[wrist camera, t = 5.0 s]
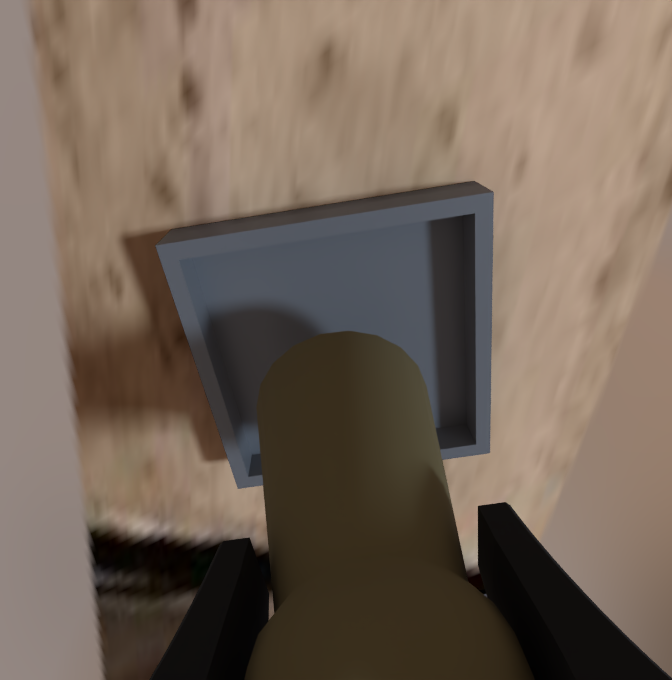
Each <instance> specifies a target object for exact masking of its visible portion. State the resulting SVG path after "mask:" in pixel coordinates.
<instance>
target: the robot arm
mask: <svg viewBox="0 0 672 680" xmlns="http://www.w3.org/2000/svg"><path fill="white" fill-rule="evenodd" d="M478 566H479V570H480V573H481V577H482V580H483V584H484V588H485V591H486V594H484V595H485V596H486V597H487V598H488V599H490V600H491V601H492V602H493V603H494V604H495V605H496V607H497V608H498V609H499V611H500V612H501V614H502V615H503V616H504V618H505V619H506V621H507V622H508V624H509V625H510V626H511V628H512V629H513V631H514V632H515V634H516V636H517V639H518V641H519V643H520V645H521V648H522V650H523V652H524V655H525V657H526V659H527V662H528V664H529V666H530V668H531V671H532V673H533V675H534V678H535V680H672V678H671V677H670V676H669V675H668V674H667V673H666V672H664V671H663V670H662V669H661V668H660V667H659V666H658V665H657V664H656V663H655V662H653V661H652V660H651V659H650V658H649V657H648V656H647V655H646V654H645V653H644V652H643V651H642V650H641V649H640V648H639V647H638V646H637V645H636V644H635V643H633V642H632V641H631V640H630V639H629V638H628V637H627V636H626V635H625V634H624V633H623V632H622V631H621V630H620V629H619V628H618V627H617V626H616V625H615V624H614V623H613V622H612V621H611V620H610V619H609V618H608V617H607V616H606V615H605V614H604V613H603V612H602V611H601V610H600V609H599V608H598V607H597V605H596V604H595V603H594V602H593V601H592V600H591V599H590V598H589V597H588V596H587V595H586V594H585V593H584V592H583V591H582V590H581V589H580V587H579V586H578V585H577V584H576V583H575V582H574V581H573V580H572V579H571V578H570V577H569V575H568V574H567V573H566V572H565V571H564V570H563V569H562V568H561V567H560V565H559V564H558V563H557V562H556V561H555V560H554V559H553V558H552V557H551V555H550V554H549V553H548V552H547V551H546V549H545V548H544V547H543V546H542V545H541V543H540V542H539V541H538V540H537V539H536V538H535V536H534V535H533V534H532V533H531V531H530V530H529V529H528V528H527V526H526V525H525V524H524V523H523V521H522V520H521V519H520V518H519V516H518V515H517V514H516V512H515V511H514V510H513V509H512V507H511V506H510V505H509V504H507V503H506V502H503V503H496V504H489V505H482V506H478ZM268 621H269V592H268V589H267V586H266V584H265V581H264V578H263V575H262V572H261V569H260V566H259V563H258V561H257V558H256V555H255V552H254V549H253V546H252V543H251V540H250V538H243V539H236V540H229V541H223V542H222V543H221V544H220V546H219V548H218V550H217V552H216V554H215V557H214V559H213V561H212V563H211V565H210V567H209V569H208V571H207V574H206V576H205V578H204V580H203V582H202V584H201V586H200V588H199V590H198V592H197V594H196V596H195V598H194V600H193V602H192V604H191V606H190V608H189V610H188V612H187V613H186V615H185V617H184V619H183V621H182V623H181V625H180V626H179V628H178V630H177V632H176V634H175V636H174V638H173V640H172V641H171V643H170V645H169V647H168V649H167V650H166V652H165V654H164V656H163V657H162V659H161V661H160V663H159V664H158V666H157V668H156V669H155V671H154V673H153V674H152V676H151V678H150V680H244V679H245V674H246V670H247V666H248V663H249V660H250V657H251V654H252V651H253V648H254V645H255V642H256V639H257V636H258V634H259V633H260V631H261V630H262V629H263V627H264V626H265V625H266V624H267V622H268Z"/></svg>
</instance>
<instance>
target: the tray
mask: <svg viewBox="0 0 672 680" xmlns="http://www.w3.org/2000/svg"><path fill="white" fill-rule="evenodd" d="M493 195H494V192H493V191H491V190H489V189H488V188H486V187H484V186H482V185H481V184H479V183H477V182H475V181H472V182H466V183H460V184H453V185H447V186H441V187H435V188H428V189H422V190H416V191H410V192H403V193H397V194H391V195H385V196H378V197H372V198H366V199H359V200H353V201H347V202H341V203H334V204H328V205H322V206H316V207H309V208H303V209H297V210H290V211H284V212H278V213H272V214H265V215H259V216H253V217H247V218H240V219H234V220H228V221H222V222H215V223H209V224H203V225H196V226H190V227H184V228H178V229H171V230H170V231H169V232H168V233H167V234H166V235H165V236H164V237H163V238H162V239H161V240H160V241H159V242H158V243H157V244H156V245H155V246H156V249H157V252H158V255H159V258H160V261H161V264H162V267H163V270H164V273H165V276H166V279H167V281H168V284H169V287H170V290H171V293H172V296H173V299H174V302H175V305H176V308H177V311H178V314H179V317H180V320H181V323H182V326H183V328H184V331H185V334H186V337H187V340H188V343H189V346H190V349H191V352H192V355H193V358H194V361H195V364H196V367H197V370H198V373H199V375H200V378H201V381H202V384H203V387H204V390H205V393H206V396H207V399H208V402H209V405H210V408H211V411H212V414H213V417H214V420H215V422H216V425H217V428H218V431H219V434H220V437H221V440H222V443H223V446H224V449H225V452H226V455H227V458H228V461H229V464H230V467H231V469H232V472H233V475H234V478H235V481H236V484H237V487H238V489H240V488H247V487H254V486H261V485H263V477H262V466H261V454H260V443H259V432H258V421H257V409H256V407H257V401H258V395H259V389H260V384H261V383H262V381H263V379H264V378H265V376H266V374H267V372H268V371H269V369H270V367H271V366H272V364H273V363H274V362H275V361H276V360H277V359H278V358H280V357H281V356H282V355H283V354H284V353H285V352H287V351H288V350H289V349H290V348H291V347H292V346H294V345H296V344H298V343H300V342H303V341H305V340H307V339H310V338H312V337H314V336H317V335H319V334H325V333H333V332H341V331H355V332H361V333H367V334H373V335H378V336H380V337H382V338H383V339H385V340H387V341H389V342H391V343H393V344H395V345H397V346H399V347H401V348H402V349H403V350H404V351H405V352H406V353H407V354H408V355H409V356H410V358H411V359H412V360H413V361H414V362H415V363H416V364H417V365H418V367H419V369H420V372H421V374H422V376H423V379H424V381H425V384H426V386H427V390H428V395H429V400H430V404H431V409H432V414H433V419H434V423H435V428H436V433H437V437H438V442H439V447H440V452H441V456H442V460H444V459H451V458H458V457H465V456H473V455H480V454H487V453H490V411H491V339H492V267H493Z"/></svg>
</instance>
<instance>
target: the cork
mask: <svg viewBox="0 0 672 680" xmlns="http://www.w3.org/2000/svg"><path fill="white" fill-rule="evenodd" d="M256 409H257V421H258V432H259V443H260V454H261V466H262V477H263V488H264V500H265V511H266V522H267V533H268V545H269V556H270V567H271V579H272V590H273V601H274V615H273V616H272V617H271V619H270V620H269V621H268V622H267V624H266V625H265V626H264V627H263V629H262V630H261V631H260V633H259V634H258V636H257V639H256V642H255V645H254V648H253V651H252V654H251V657H250V660H249V663H248V666H247V670H246V674H245V679H244V680H535V678H534V675H533V673H532V671H531V668H530V666H529V664H528V662H527V659H526V657H525V655H524V652H523V650H522V648H521V645H520V643H519V641H518V639H517V636H516V634H515V632H514V631H513V629H512V628H511V626H510V625H509V624H508V622H507V621H506V619H505V618H504V616H503V615H502V614H501V612H500V611H499V609H498V608H497V607H496V605H495V604H494V603H493V602H492V601H491V600H490V599H488V598H487V597H486V596H485V595H484V594H482V593H481V592H480V591H479V590H477V589H476V588H475V587H474V586H472V585H471V584H470V583H468V579H467V574H466V569H465V565H464V560H463V555H462V551H461V546H460V541H459V536H458V532H457V527H456V522H455V518H454V513H453V508H452V503H451V499H450V494H449V489H448V485H447V480H446V475H445V470H444V466H443V461H442V456H441V452H440V447H439V442H438V437H437V433H436V428H435V423H434V419H433V414H432V409H431V404H430V400H429V395H428V390H427V386H426V384H425V381H424V379H423V376H422V374H421V372H420V369H419V367H418V365H417V364H416V363H415V362H414V361H413V360H412V359H411V358H410V356H409V355H408V354H407V353H406V352H405V351H404V350H403V349H402V348H401V347H399V346H397V345H395V344H393V343H391V342H389V341H387V340H385V339H383V338H382V337H380V336H378V335H373V334H367V333H361V332H355V331H341V332H333V333H325V334H319V335H317V336H314V337H312V338H310V339H307V340H305V341H303V342H300V343H298V344H296V345H294V346H292V347H291V348H290V349H289V350H288V351H287V352H285V353H284V354H283V355H282V356H281V357H280V358H278V359H277V360H276V361H275V362H274V363H273V364H272V366H271V367H270V369H269V371H268V372H267V374H266V376H265V378H264V379H263V381H262V383H261V384H260V389H259V395H258V401H257V407H256Z"/></svg>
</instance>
